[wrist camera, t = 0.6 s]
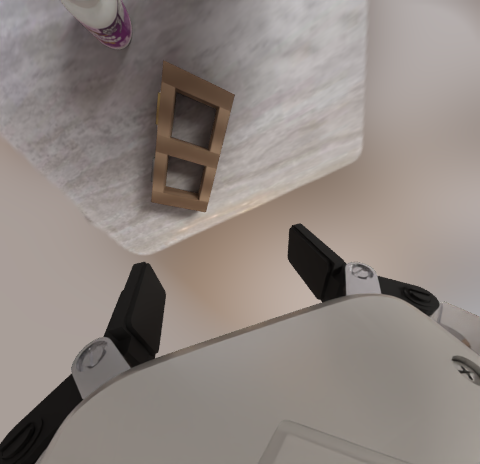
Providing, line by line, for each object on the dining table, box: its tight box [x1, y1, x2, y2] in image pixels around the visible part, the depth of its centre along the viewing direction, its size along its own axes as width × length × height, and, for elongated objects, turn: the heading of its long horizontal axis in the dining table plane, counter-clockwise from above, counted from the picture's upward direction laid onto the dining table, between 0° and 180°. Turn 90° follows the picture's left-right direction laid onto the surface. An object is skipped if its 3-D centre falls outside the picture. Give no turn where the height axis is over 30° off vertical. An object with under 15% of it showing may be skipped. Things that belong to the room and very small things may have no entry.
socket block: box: [151, 60, 235, 212], centre depth 30 cm, size 20×10×4 cm, turn 162°
